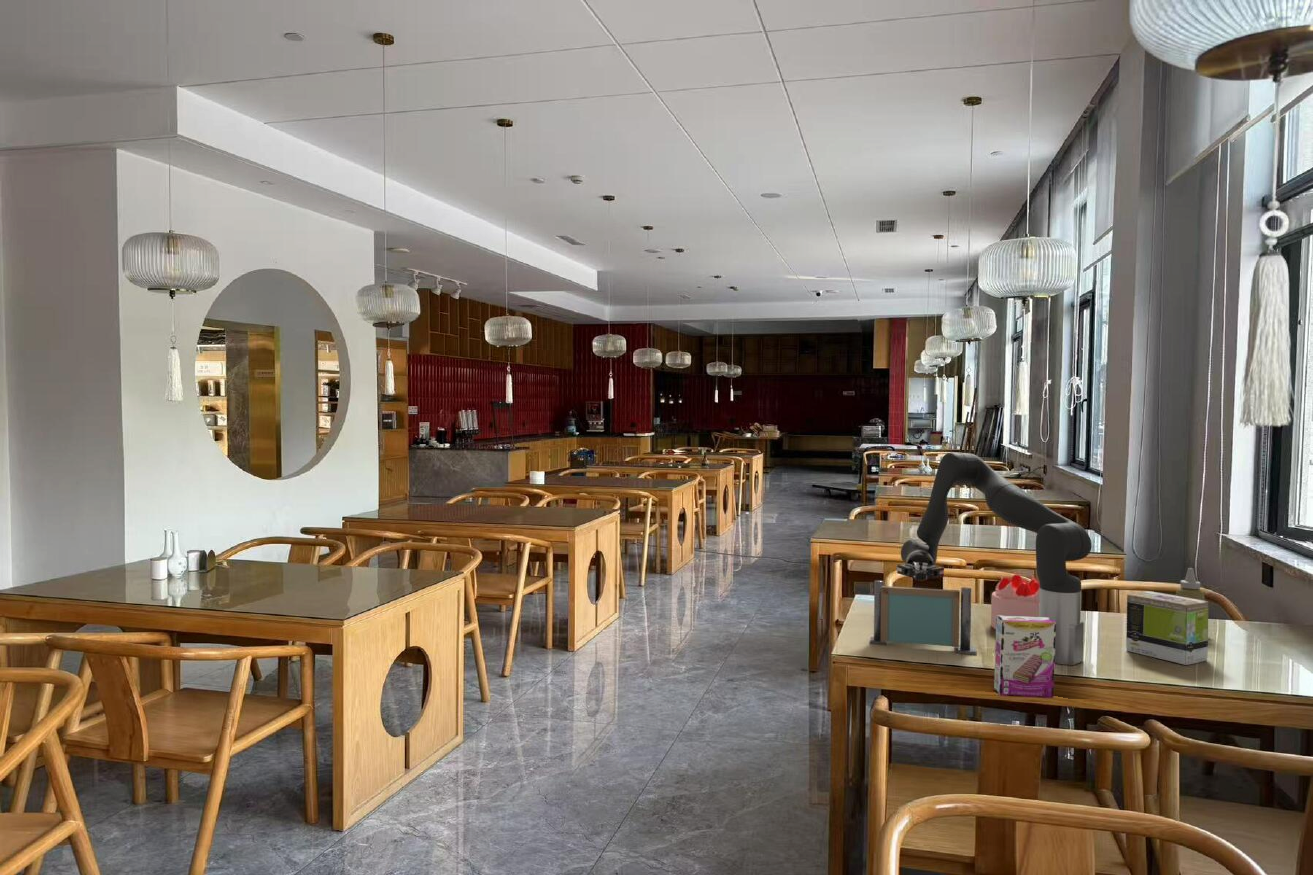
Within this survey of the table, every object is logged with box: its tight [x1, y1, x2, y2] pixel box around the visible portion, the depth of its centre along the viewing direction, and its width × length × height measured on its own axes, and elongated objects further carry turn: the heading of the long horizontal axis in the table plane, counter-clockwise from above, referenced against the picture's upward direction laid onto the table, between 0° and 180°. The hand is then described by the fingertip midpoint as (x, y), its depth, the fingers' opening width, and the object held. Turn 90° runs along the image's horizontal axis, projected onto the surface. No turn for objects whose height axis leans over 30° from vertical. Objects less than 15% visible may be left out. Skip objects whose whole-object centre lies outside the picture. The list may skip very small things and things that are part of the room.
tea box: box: [1125, 590, 1209, 666], centre depth 213 cm, size 15×10×15 cm, turn 30°
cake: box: [990, 574, 1039, 630], centre depth 238 cm, size 20×20×14 cm
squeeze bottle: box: [1175, 567, 1206, 601], centre depth 234 cm, size 8×8×18 cm
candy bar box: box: [993, 615, 1056, 699], centre depth 183 cm, size 11×5×16 cm, turn 84°
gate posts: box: [869, 579, 978, 656], centre depth 220 cm, size 26×7×16 cm, turn 74°
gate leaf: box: [881, 585, 961, 648], centre depth 219 cm, size 19×2×14 cm, turn 74°
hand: (921, 576), depth 228 cm, fingers closed
